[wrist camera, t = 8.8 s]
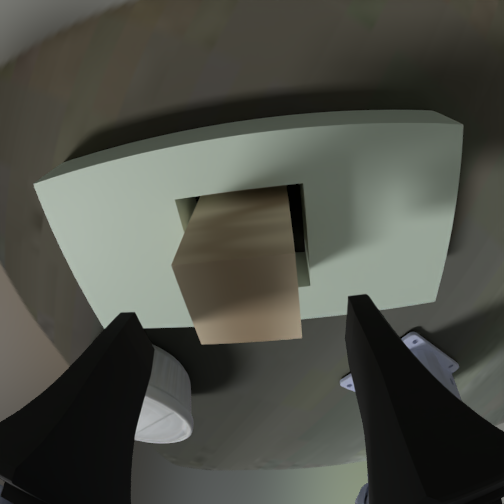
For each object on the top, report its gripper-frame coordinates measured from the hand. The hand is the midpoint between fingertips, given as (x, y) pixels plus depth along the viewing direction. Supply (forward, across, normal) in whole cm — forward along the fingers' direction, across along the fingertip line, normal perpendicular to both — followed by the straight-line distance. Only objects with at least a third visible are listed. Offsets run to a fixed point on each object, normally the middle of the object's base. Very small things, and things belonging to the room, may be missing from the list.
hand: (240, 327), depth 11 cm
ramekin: (+8, +12, +13) cm, 20 cm away
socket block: (+8, 0, 0) cm, 8 cm away
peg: (+8, 0, 0) cm, 8 cm away
